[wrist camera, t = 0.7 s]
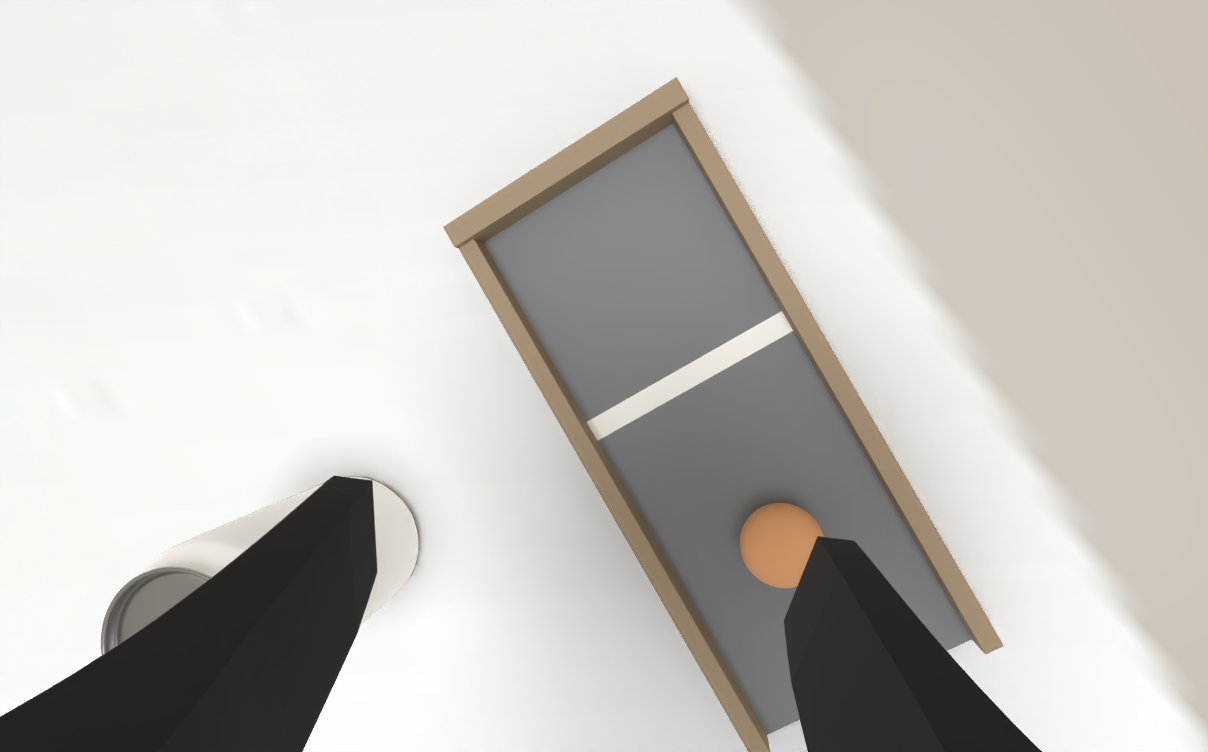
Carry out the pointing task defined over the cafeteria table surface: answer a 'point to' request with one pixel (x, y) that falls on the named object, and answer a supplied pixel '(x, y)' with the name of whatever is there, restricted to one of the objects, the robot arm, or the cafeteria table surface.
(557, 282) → the lane
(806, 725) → the robot arm
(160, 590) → the can
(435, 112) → the cafeteria table surface
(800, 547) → the ball
